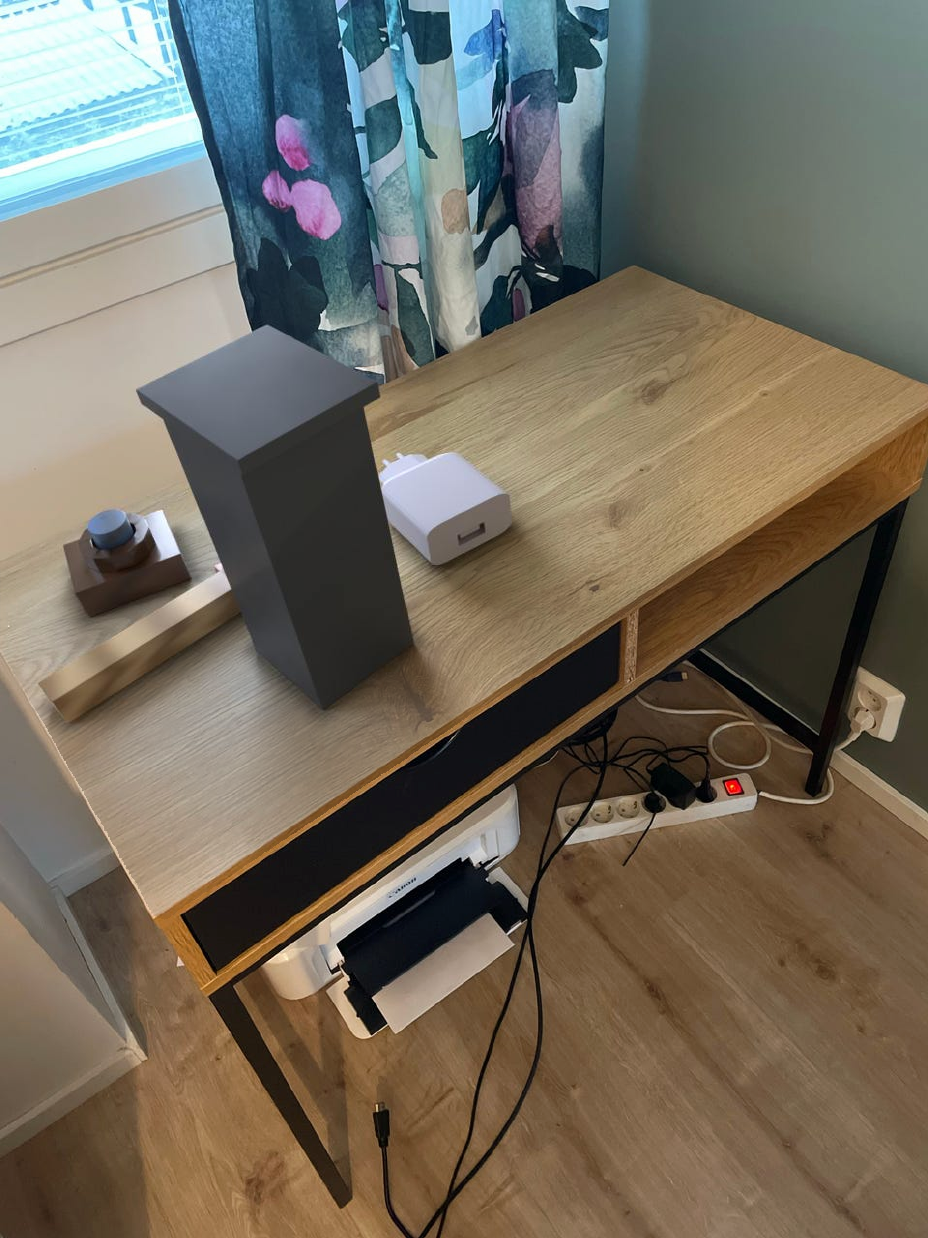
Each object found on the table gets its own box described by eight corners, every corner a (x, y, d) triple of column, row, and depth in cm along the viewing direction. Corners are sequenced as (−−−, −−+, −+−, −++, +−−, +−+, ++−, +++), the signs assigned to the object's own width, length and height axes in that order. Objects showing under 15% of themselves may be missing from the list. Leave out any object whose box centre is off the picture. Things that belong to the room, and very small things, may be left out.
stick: (72, 730, 75) (57, 708, 73) (48, 699, 78) (32, 676, 75) (287, 591, 84) (279, 567, 82) (257, 567, 87) (249, 544, 85)
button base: (88, 617, 84) (66, 579, 81) (76, 568, 90) (54, 530, 86) (191, 578, 87) (174, 539, 83) (173, 533, 92) (156, 494, 88)
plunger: (99, 555, 83) (90, 539, 82) (93, 534, 86) (84, 517, 84) (137, 541, 84) (129, 525, 83) (130, 521, 86) (121, 504, 85)
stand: (329, 724, 72) (237, 460, 54) (241, 645, 80) (135, 389, 61) (430, 648, 77) (377, 381, 58) (339, 580, 84) (267, 323, 66)
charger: (431, 459, 96) (512, 528, 87) (356, 494, 93) (432, 569, 84) (425, 421, 93) (509, 489, 84) (347, 457, 90) (426, 531, 81)
